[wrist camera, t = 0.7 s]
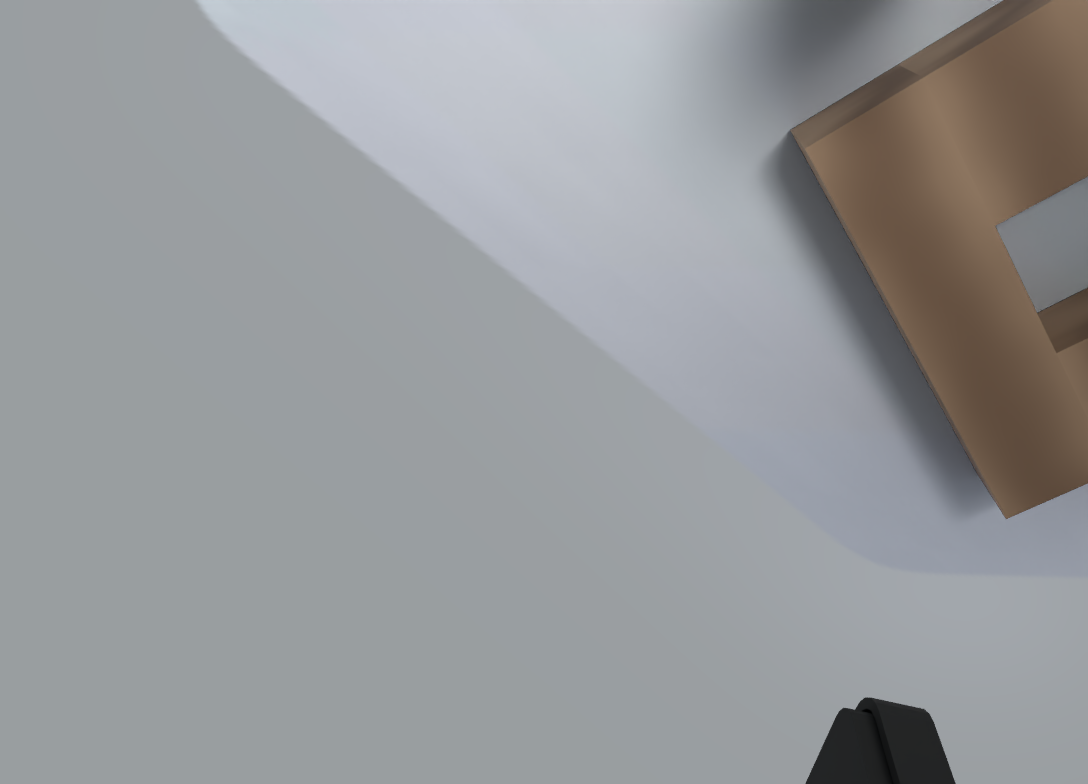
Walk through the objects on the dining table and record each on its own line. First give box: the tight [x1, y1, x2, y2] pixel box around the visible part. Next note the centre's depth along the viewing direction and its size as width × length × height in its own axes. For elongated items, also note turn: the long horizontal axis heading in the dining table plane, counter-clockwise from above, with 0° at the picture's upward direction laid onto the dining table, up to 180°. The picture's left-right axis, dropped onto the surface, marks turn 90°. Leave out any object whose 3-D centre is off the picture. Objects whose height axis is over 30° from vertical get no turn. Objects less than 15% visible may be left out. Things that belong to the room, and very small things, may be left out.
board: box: [790, 0, 1088, 519], centre depth 32 cm, size 13×16×3 cm
